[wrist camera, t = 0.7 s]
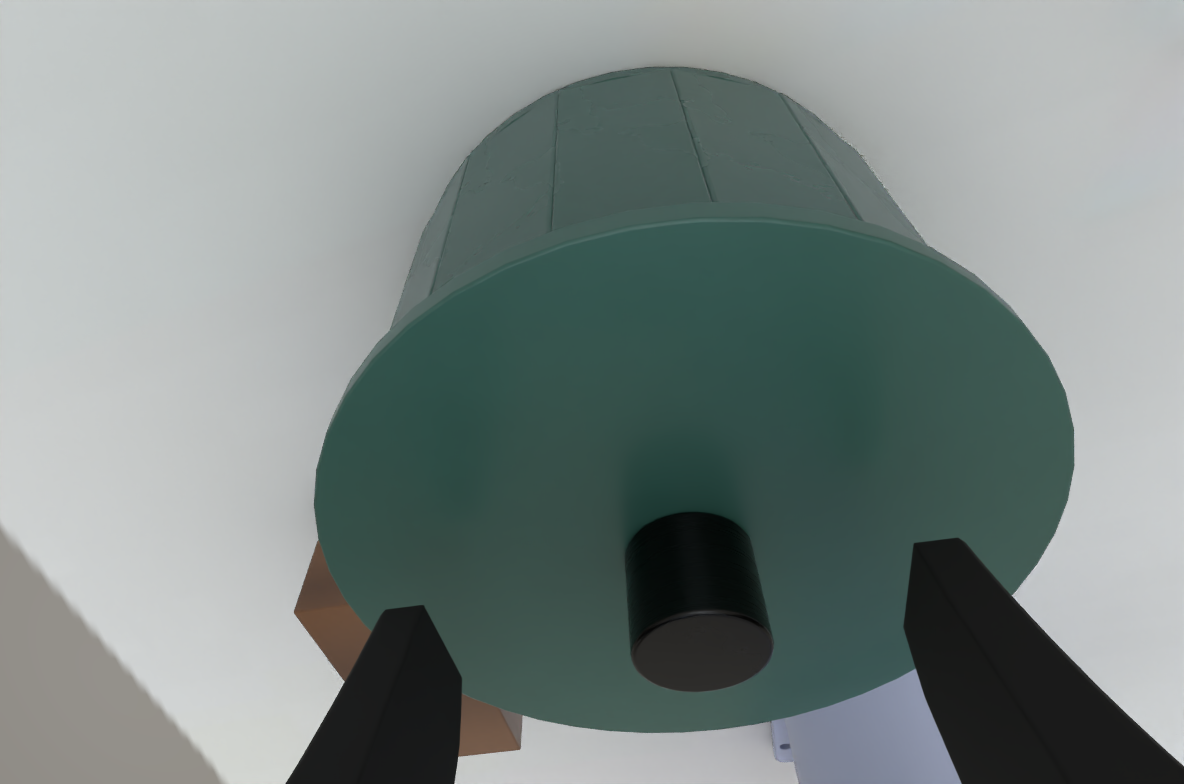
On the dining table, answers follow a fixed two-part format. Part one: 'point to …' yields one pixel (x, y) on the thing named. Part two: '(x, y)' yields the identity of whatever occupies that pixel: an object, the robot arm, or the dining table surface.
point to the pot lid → (689, 462)
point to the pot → (640, 165)
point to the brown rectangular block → (347, 637)
